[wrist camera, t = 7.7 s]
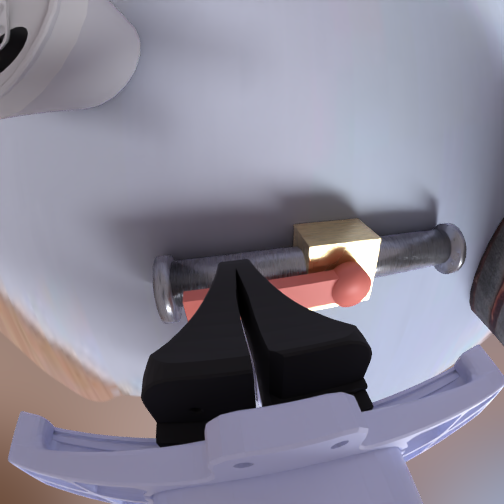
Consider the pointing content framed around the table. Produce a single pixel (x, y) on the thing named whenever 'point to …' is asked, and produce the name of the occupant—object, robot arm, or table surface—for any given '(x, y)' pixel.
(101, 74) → the can
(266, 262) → the pipe and valve
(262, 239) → the table surface
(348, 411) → the robot arm
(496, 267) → the barrel
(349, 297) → the lever
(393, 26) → the table surface
